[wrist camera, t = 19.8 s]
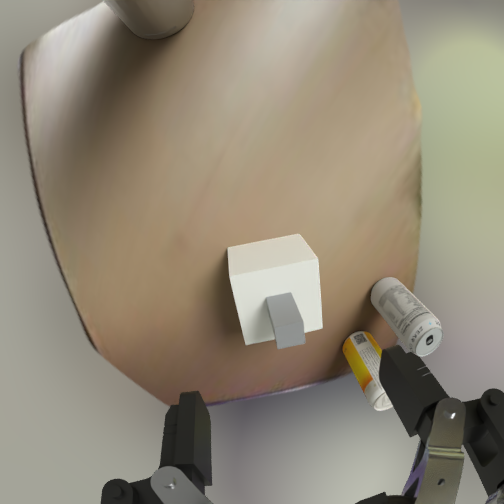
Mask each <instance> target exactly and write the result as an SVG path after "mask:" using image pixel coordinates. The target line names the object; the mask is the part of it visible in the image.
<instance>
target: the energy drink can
mask: <svg viewBox="0 0 504 504" xmlns="http://www.w3.org/2000/svg"><path fill="white" fill-rule="evenodd" d="M371 302H372V304H373V306H374V307H375V308H376V309H377V311H378V312H379V313H380V314H381V316H382V317H383V318H384V319H385V321H386V322H387V323H388V324H389V326H390V327H391V328H392V330H393V331H394V332H395V333H396V335H397V336H398V337H399V339H400V340H401V341H402V343H403V344H404V345H405V347H406V348H407V349H408V350H409V351H410V352H412V353H416V354H417V355H418V356H421V357H422V356H427V355H429V354H430V353H432V352H433V351H434V350H435V349H436V348H437V347H438V346H439V345H440V343H441V341H442V339H443V330H442V329H441V325H440V321H439V320H438V319H437V318H436V317H435V316H434V315H433V314H432V313H431V312H430V311H429V310H428V309H427V308H426V307H425V306H424V305H423V304H422V303H421V302H420V301H419V300H418V299H417V298H416V297H415V296H414V295H413V294H412V293H411V292H410V291H409V290H408V289H407V288H406V287H405V286H404V285H403V284H402V283H401V282H399V281H398V280H397V279H396V278H393V277H388V278H383V279H381V280H379V281H378V282H377V283H376V284H375V285H374V287H373V289H372V292H371Z"/></svg>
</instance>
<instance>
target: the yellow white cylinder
mask: <svg viewBox="0 0 504 504" xmlns="http://www.w3.org/2000/svg"><path fill="white" fill-rule="evenodd" d="M343 353H344V355H345V357H346V359H347V361H348V363H349V365H350V367H351V369H352V371H353V372H354V374H355V376H356V378H357V380H358V382H359V384H360V386H361V388H362V390H363V392H364V394H365V396H366V398H367V400H368V402H369V404H370V406H372V407H373V408H375V410H378V411H383V410H387V409H389V408H391V407H393V405H392V403H391V401H390V400H389V398H388V396H387V394H386V392H385V391H384V389H383V387H382V385H381V383H380V380H379V366H380V360H381V353H382V350H381V349H380V347H379V346H378V344H377V343H376V341H375V340H374V338H373V337H372V335H371V334H370V333H368V332H364V331H358V332H355V333H353V334H351V335H350V336H349V337H348V338H347V339H346V340H345V342H344V345H343Z"/></svg>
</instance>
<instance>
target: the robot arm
mask: <svg viewBox="0 0 504 504" xmlns="http://www.w3.org/2000/svg"><path fill="white" fill-rule="evenodd" d="M103 1H104V2H105V3H106V4H107V5H108V6H109V7H110V9H111V10H112V11H113V12H114V13H115V14H116V15H117V16H118V17H119V18H120V19H121V20H122V21H123V23H124V24H125V25H126V26H127V27H128V28H129V29H130V30H131V31H132V32H133V33H134V34H135V35H137V36H139V37H141V38H145V39H160V38H165V37H168V36H171V35H172V34H174V33H176V32H178V31H179V30H181V29H182V28H183V27H184V26H185V25H186V24H187V23H188V22H189V20H190V19H191V17H192V14H193V12H194V2H193V0H103ZM379 380H380V383H381V385H382V387H383V389H384V391H385V392H386V394H387V396H388V398H389V400H390V401H391V403H392V405H393V407H394V409H395V410H396V412H397V414H398V416H399V417H400V419H401V421H402V423H403V425H404V427H405V429H406V431H407V432H408V434H409V436H410V437H412V436H414V435H417V434H418V435H419V437H420V441H419V444H418V448H417V452H416V455H415V459H414V463H413V466H412V470H411V472H410V476H409V478H408V480H407V482H406V484H405V486H404V489H403V491H402V494H401V495H390V496H386V493H385V492H383V493H380V494H378V495H375V496H372V497H370V498H367V499H364V500H361V501H359V502H357V503H355V504H455V500H456V496H457V493H458V488H459V484H460V479H461V475H462V470H463V464H464V453H463V452H461V448H462V444H463V445H464V447H465V449H466V451H467V453H468V455H469V457H470V459H471V461H472V463H473V465H474V467H475V469H476V471H477V473H478V475H479V477H480V479H481V481H482V484H483V486H484V488H485V490H486V492H487V495H488V499H487V501H486V503H485V504H504V393H503V392H502V391H501V390H498V389H489V390H487V391H485V392H484V393H483V395H482V397H481V398H480V399H476V400H472V401H467V402H461V401H460V400H459V399H457V398H453V397H449V396H448V395H447V394H446V392H445V391H444V389H443V388H442V387H441V386H440V384H439V382H438V381H437V380H436V378H435V377H434V376H433V374H432V373H431V372H430V370H429V369H428V368H427V367H426V365H425V364H424V362H423V361H422V360H421V358H420V357H418V356H417V355H415V354H413V353H412V352H409V353H405V352H404V350H403V349H402V347H401V346H399V345H395V346H392V347H389V348H387V349H384V350H382V353H381V360H380V366H379ZM163 433H164V436H163V441H162V451H161V461H160V466H159V469H158V470H156V471H155V472H154V474H153V475H152V476H151V477H149V478H147V479H144V480H140V481H136V482H132V483H128V482H127V481H125V480H122V479H113V480H110V481H108V482H107V483H106V484H105V485H104V487H103V489H102V497H101V504H213V503H212V502H211V501H210V500H209V499H208V498H207V497H206V496H205V486H211V485H212V466H211V421H210V415H209V412H208V410H207V407H206V405H205V403H204V401H203V399H202V397H201V395H200V393H199V391H191V392H182V393H181V394H180V399H179V405H171V407H170V409H169V410H168V412H167V414H166V416H165V427H164V432H163Z"/></svg>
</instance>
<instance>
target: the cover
mask: <svg viewBox="0 0 504 504" xmlns="http://www.w3.org/2000/svg"><path fill="white" fill-rule="evenodd" d="M228 264H229V277H230V282H231V286H232V290H233V294H234V299H235V303H236V307H237V311H238V315H239V319H240V324H241V328H242V332H243V336H244V340H245V344H246V345H249V344H254V343H259V342H264V341H269V340H274V339H275V340H276V344H277V348H278V349H281V348H286V347H291V346H295V345H299V344H304V343H305V332H310V331H314V330H318V329H322V308H321V292H320V277H319V264H318V258H317V256H316V255H315V254H314V252H313V251H312V250H311V248H310V247H309V246H308V244H307V243H306V242H305V240H304V239H303V238H302V236H301V235H300V234H294V235H289V236H284V237H279V238H274V239H268V240H263V241H258V242H253V243H248V244H243V245H238V246H233V247H228Z"/></svg>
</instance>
